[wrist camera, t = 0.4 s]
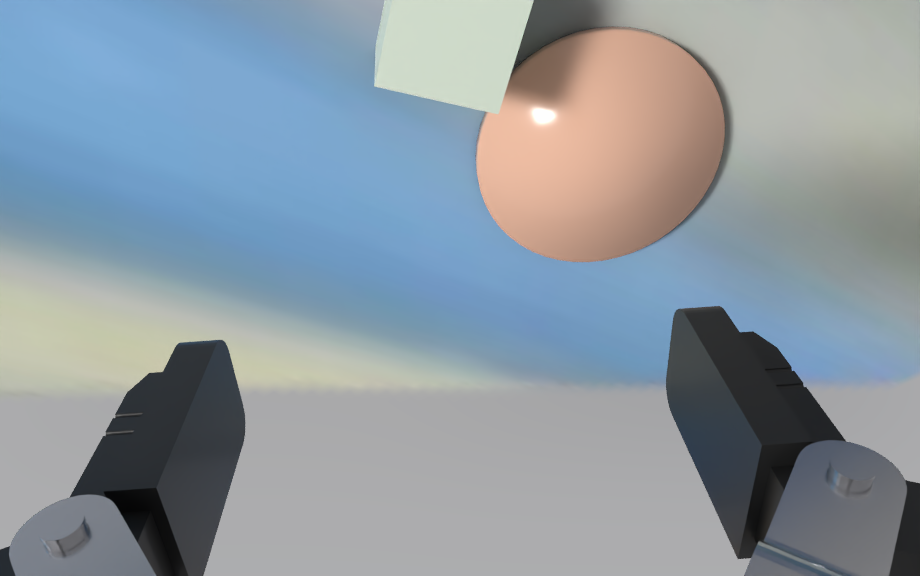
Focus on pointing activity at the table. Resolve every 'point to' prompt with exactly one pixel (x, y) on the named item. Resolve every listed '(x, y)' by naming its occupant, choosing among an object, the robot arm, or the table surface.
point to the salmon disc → (600, 144)
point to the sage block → (450, 49)
